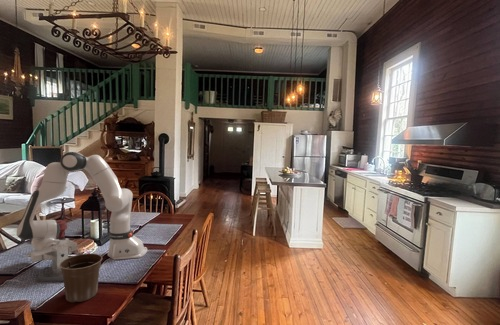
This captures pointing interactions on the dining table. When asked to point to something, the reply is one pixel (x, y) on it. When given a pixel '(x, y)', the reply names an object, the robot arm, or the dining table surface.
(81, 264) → the plant pot
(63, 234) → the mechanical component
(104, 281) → the dining table surface
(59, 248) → the off-white rectangular block
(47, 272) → the steel plate
